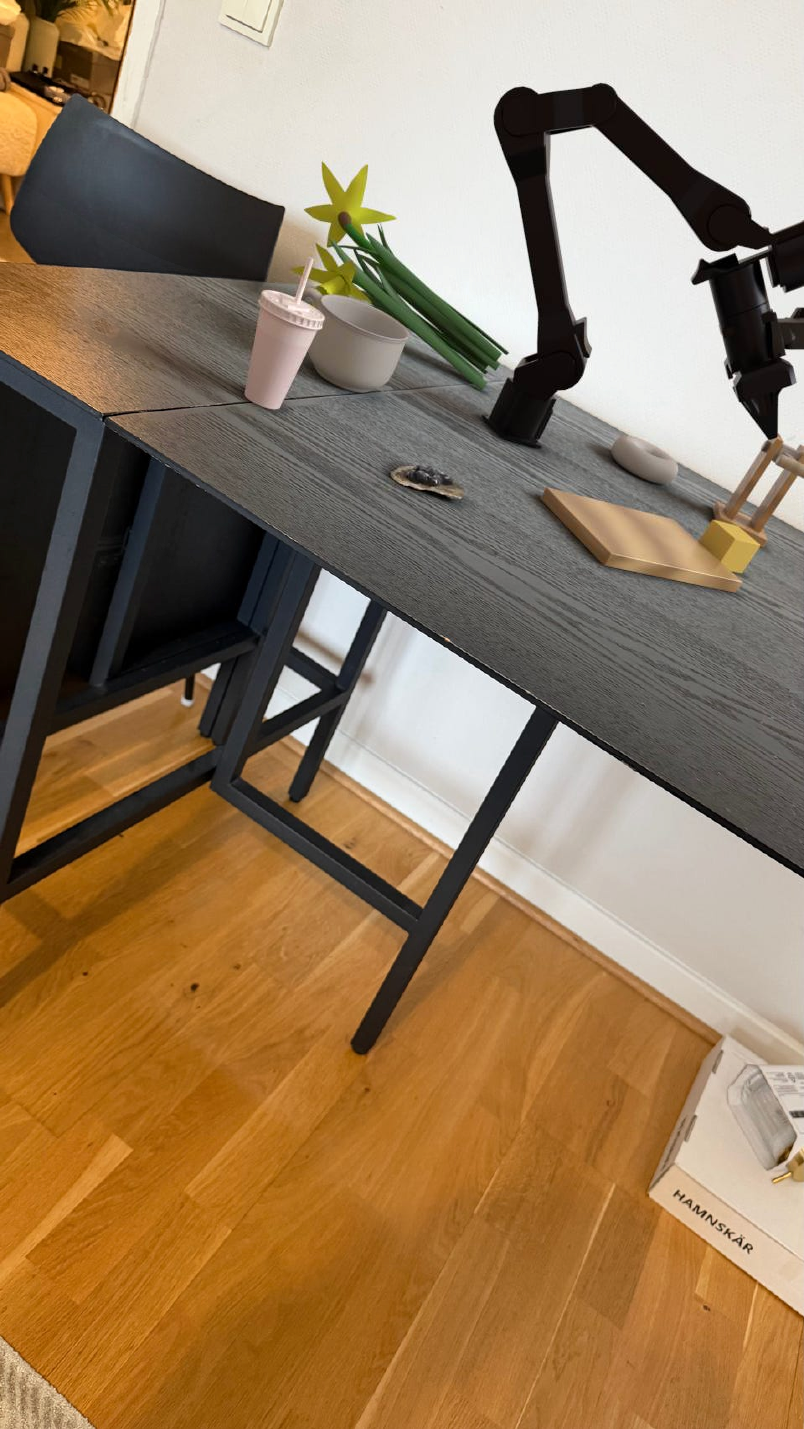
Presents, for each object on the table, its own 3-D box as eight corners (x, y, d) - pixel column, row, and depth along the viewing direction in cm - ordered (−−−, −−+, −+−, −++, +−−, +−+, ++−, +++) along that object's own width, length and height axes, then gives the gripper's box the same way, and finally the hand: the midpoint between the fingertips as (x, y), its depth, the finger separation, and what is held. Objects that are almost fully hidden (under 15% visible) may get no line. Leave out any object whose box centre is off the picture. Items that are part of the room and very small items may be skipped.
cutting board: (603, 565, 96) (611, 553, 95) (539, 498, 106) (546, 486, 105) (735, 593, 107) (743, 582, 106) (666, 529, 116) (673, 519, 115)
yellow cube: (716, 568, 111) (735, 538, 109) (694, 548, 114) (712, 519, 112) (741, 573, 114) (760, 545, 112) (719, 554, 117) (737, 525, 115)
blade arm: (809, 487, 117) (821, 469, 116) (773, 469, 117) (784, 451, 116) (793, 470, 127) (804, 453, 126) (760, 453, 127) (770, 436, 126)
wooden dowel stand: (762, 548, 128) (821, 462, 121) (716, 525, 127) (771, 437, 121) (756, 530, 134) (811, 447, 128) (712, 508, 134) (764, 424, 128)
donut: (606, 465, 130) (672, 495, 131) (619, 442, 129) (685, 473, 129) (606, 447, 139) (668, 476, 139) (618, 425, 137) (680, 454, 137)
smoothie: (302, 410, 97) (351, 272, 90) (276, 420, 92) (326, 274, 85) (248, 381, 98) (292, 242, 91) (219, 390, 92) (264, 242, 85)
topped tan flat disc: (473, 508, 94) (481, 491, 93) (408, 497, 90) (416, 479, 89) (440, 475, 98) (448, 458, 97) (377, 462, 94) (384, 445, 93)
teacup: (400, 401, 114) (426, 336, 110) (351, 404, 106) (378, 334, 101) (312, 347, 118) (335, 283, 114) (258, 346, 109) (280, 276, 105)
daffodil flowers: (476, 410, 129) (263, 231, 119) (443, 430, 143) (251, 271, 133) (545, 311, 130) (339, 125, 120) (506, 340, 144) (319, 176, 134)
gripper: (830, 289, 100) (858, 432, 105) (804, 275, 116) (830, 400, 121) (721, 329, 104) (754, 465, 109) (710, 311, 120) (740, 430, 125)
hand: (773, 438), depth 116 cm, fingers closed
